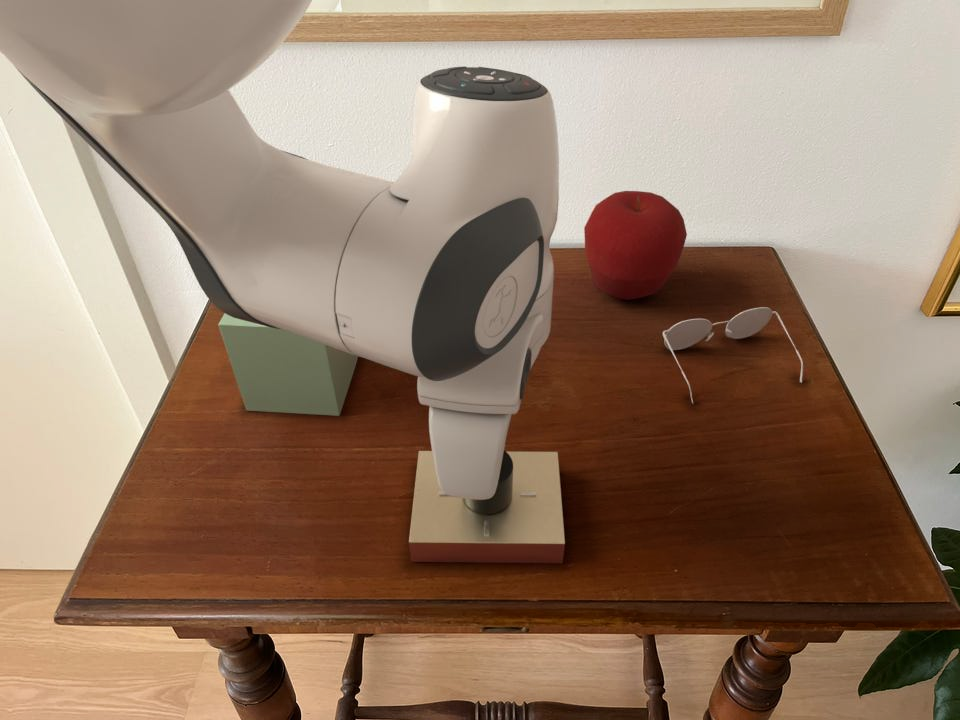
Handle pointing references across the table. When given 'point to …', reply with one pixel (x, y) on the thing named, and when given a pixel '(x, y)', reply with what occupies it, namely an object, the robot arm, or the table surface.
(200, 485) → the table surface
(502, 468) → the knob
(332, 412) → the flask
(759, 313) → the sunglasses
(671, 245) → the apple
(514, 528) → the panel
